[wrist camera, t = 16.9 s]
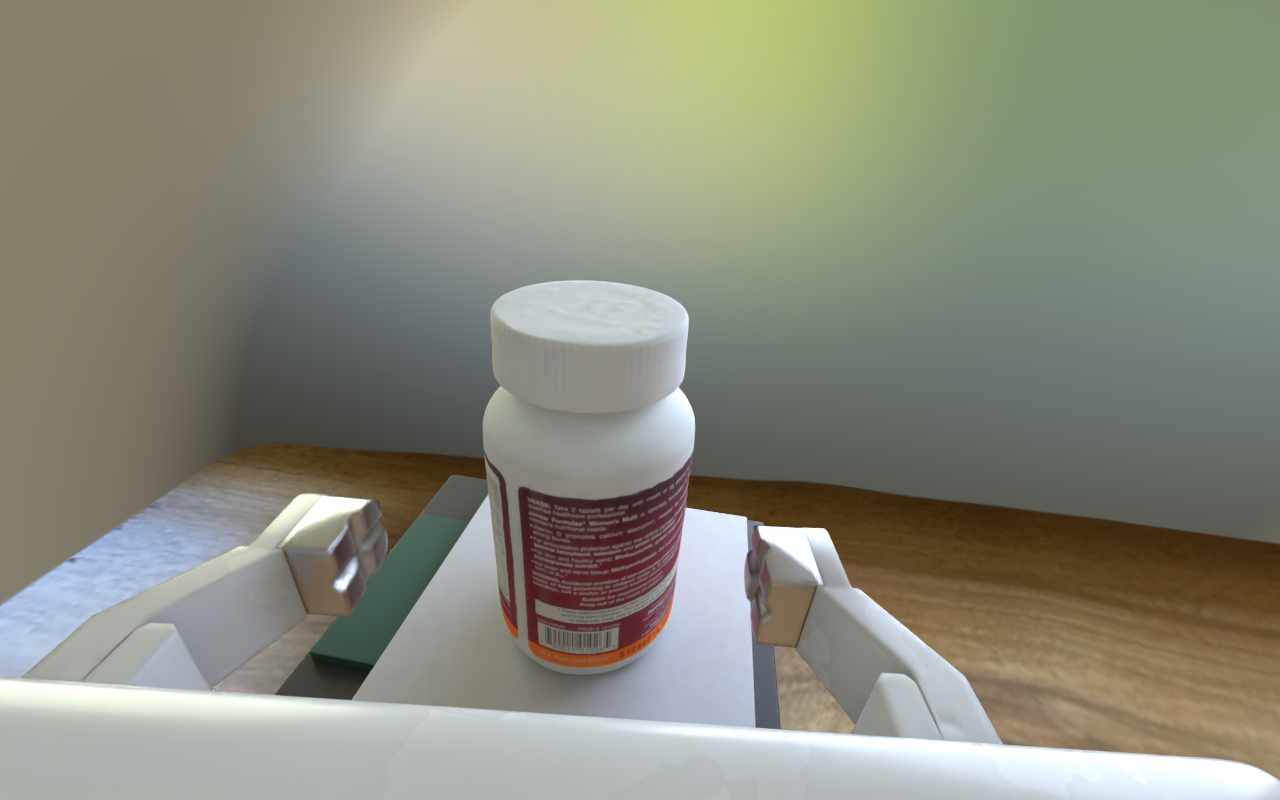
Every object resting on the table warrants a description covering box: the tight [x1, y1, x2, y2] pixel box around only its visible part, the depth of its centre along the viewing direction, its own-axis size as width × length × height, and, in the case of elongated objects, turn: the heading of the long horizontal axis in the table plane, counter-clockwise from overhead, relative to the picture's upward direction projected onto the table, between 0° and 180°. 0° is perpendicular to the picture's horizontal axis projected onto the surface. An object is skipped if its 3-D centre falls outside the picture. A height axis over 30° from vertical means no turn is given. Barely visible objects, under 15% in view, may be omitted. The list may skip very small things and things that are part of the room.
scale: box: [275, 475, 781, 729], centre depth 20 cm, size 16×14×3 cm
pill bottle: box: [483, 281, 695, 675], centre depth 16 cm, size 6×6×11 cm
